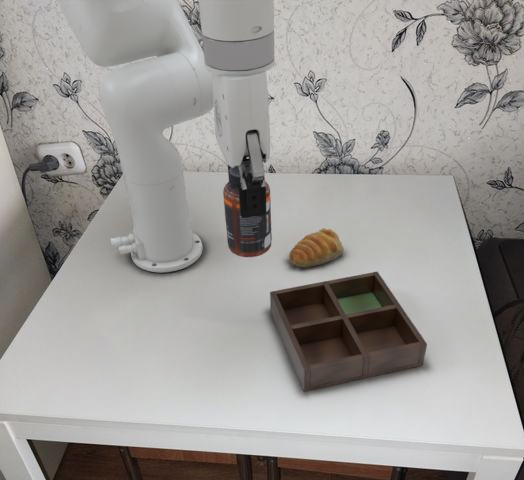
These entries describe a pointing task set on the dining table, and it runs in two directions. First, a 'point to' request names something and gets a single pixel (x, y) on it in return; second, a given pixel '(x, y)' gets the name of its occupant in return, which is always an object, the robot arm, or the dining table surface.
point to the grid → (345, 330)
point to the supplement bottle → (245, 221)
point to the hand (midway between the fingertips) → (247, 200)
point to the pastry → (316, 249)
